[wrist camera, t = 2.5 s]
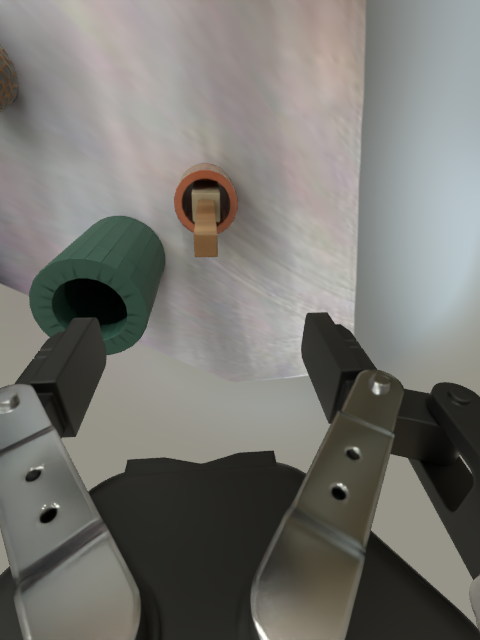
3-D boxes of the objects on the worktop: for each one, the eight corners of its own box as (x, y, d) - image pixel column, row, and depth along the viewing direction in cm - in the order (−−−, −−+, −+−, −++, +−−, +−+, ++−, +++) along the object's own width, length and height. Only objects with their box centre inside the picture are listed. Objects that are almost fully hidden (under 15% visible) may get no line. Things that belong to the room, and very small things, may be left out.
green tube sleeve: (75, 215, 39) (12, 258, 27) (160, 215, 40) (139, 257, 28) (93, 291, 45) (48, 357, 32) (168, 290, 46) (153, 353, 33)
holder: (177, 162, 37) (171, 169, 31) (233, 163, 38) (238, 170, 32) (181, 219, 41) (176, 236, 35) (232, 220, 41) (237, 235, 35)
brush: (194, 180, 38) (183, 225, 21) (217, 181, 38) (226, 225, 21) (195, 205, 40) (186, 265, 23) (217, 205, 40) (226, 265, 23)
